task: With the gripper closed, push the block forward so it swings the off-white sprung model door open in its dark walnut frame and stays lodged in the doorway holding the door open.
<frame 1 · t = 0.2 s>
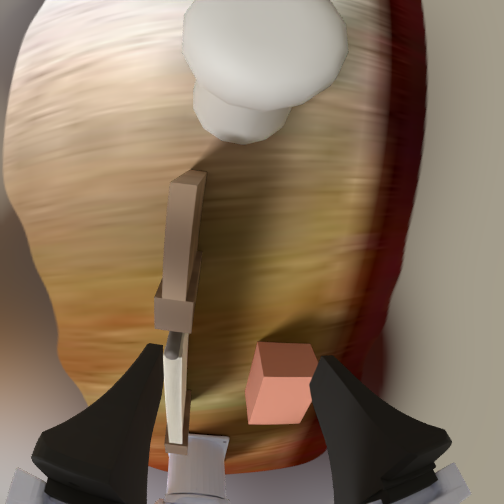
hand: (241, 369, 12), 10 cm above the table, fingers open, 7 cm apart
salt shaker: (240, 104, 17), on the table
block: (275, 368, 25), on the table
frame: (182, 347, 23), on the table
door: (178, 377, 20), point 4 cm above the table, hinge at 0.0°
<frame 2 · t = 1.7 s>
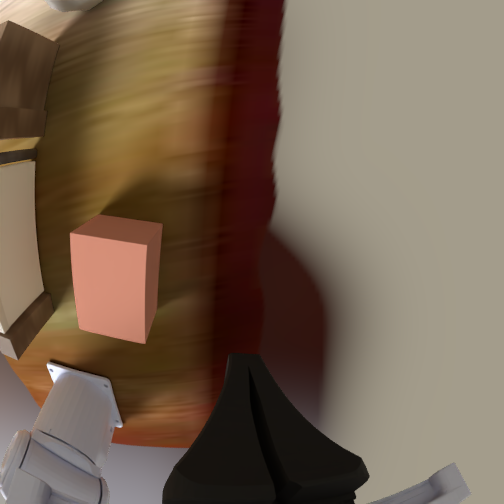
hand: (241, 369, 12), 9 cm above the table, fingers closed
block: (128, 263, 19), on the table
frame: (33, 227, 17), on the table
door: (8, 243, 14), point 4 cm above the table, hinge at 0.0°
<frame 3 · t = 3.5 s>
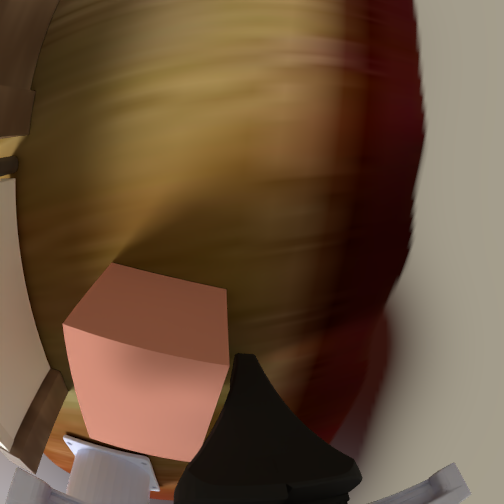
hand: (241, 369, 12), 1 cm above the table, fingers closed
block: (158, 340, 12), on the table, touching gripper
frame: (22, 283, 10), on the table
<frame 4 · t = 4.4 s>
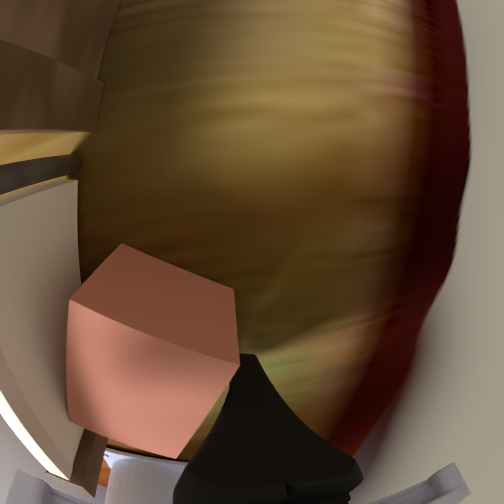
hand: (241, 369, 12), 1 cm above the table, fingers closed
block: (153, 330, 12), on the table, touching door, gripper
frame: (77, 296, 11), on the table
door: (41, 345, 7), point 4 cm above the table, hinge at 0.3°, touching block
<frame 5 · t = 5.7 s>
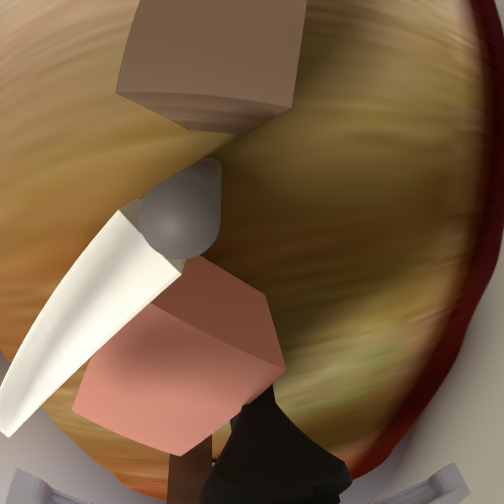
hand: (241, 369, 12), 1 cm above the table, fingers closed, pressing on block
block: (173, 323, 12), on the table, touching door, gripper
frame: (196, 310, 12), on the table
door: (68, 318, 7), point 4 cm above the table, hinge at 42.0°, touching block
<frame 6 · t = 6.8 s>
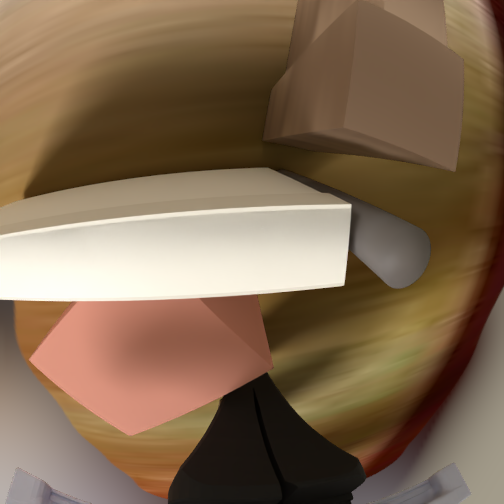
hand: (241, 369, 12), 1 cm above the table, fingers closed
block: (155, 297, 11), on the table, touching door, gripper
frame: (255, 318, 12), on the table
door: (74, 216, 6), point 4 cm above the table, hinge at 78.7°, touching block
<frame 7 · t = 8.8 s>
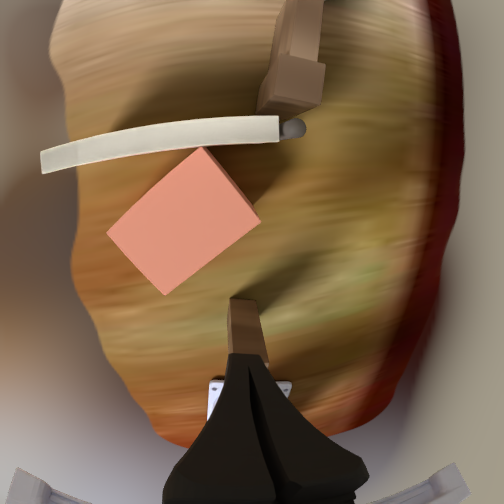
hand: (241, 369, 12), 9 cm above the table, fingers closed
block: (189, 208, 18), on the table
frame: (254, 223, 19), on the table
door: (161, 141, 13), point 4 cm above the table, hinge at 79.6°
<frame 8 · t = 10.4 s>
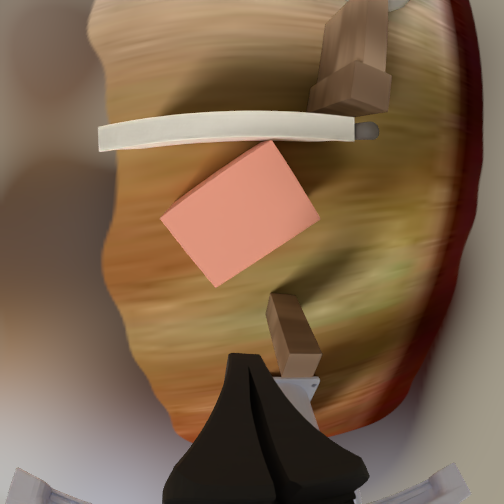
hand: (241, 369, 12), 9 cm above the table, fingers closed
block: (237, 201, 18), on the table
frame: (300, 218, 19), on the table
door: (225, 130, 13), point 4 cm above the table, hinge at 79.6°
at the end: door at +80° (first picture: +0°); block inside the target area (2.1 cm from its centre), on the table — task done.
